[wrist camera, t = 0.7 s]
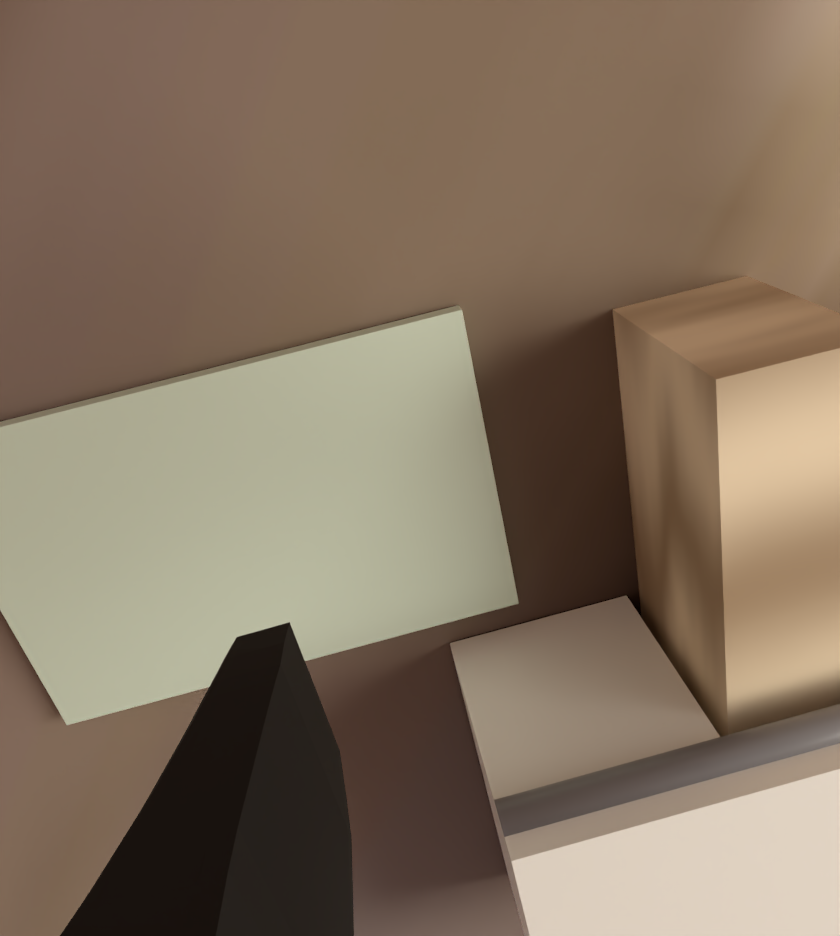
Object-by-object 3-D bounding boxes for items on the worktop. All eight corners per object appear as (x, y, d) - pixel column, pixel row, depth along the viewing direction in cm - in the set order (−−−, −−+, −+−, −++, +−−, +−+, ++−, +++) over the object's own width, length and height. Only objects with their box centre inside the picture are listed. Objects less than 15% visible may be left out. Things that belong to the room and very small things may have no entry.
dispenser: (911, 762, 26) (1094, 961, 20) (508, 875, 26) (573, 1114, 20) (939, 498, 21) (1189, 657, 15) (446, 631, 21) (508, 847, 15)
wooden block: (748, 615, 22) (861, 744, 18) (642, 643, 22) (729, 780, 18) (743, 274, 18) (892, 335, 13) (609, 307, 18) (715, 379, 13)
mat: (514, 594, 21) (518, 603, 20) (70, 714, 20) (66, 725, 20) (458, 305, 17) (461, 309, 17) (-84, 443, 17) (-92, 450, 16)
